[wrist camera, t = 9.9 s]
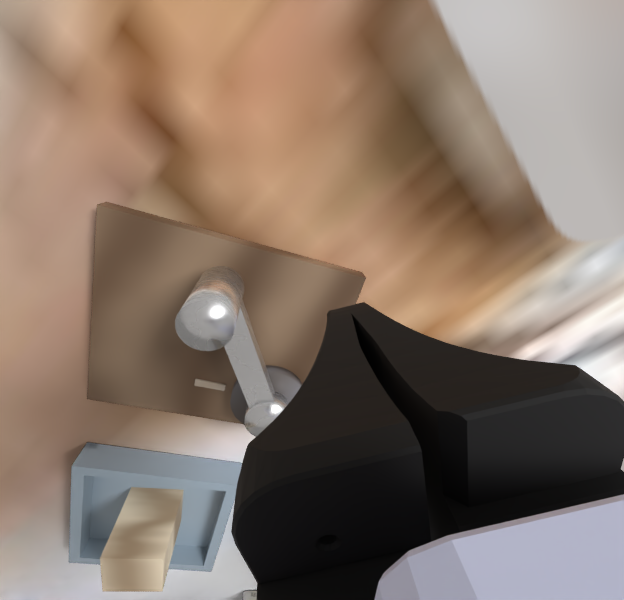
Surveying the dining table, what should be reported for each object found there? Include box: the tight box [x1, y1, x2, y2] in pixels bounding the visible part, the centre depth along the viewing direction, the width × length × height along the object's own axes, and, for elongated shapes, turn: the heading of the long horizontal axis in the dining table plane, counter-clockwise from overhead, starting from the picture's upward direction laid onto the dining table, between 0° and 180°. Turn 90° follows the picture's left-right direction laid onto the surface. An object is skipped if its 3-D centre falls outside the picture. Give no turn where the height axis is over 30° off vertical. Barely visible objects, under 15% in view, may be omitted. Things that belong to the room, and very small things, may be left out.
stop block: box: [100, 487, 184, 591], centre depth 25 cm, size 4×4×5 cm
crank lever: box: [175, 266, 289, 437], centre depth 18 cm, size 12×3×5 cm, turn 13°
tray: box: [69, 442, 242, 572], centre depth 27 cm, size 12×12×2 cm
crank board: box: [87, 202, 366, 425], centre depth 21 cm, size 15×13×2 cm
